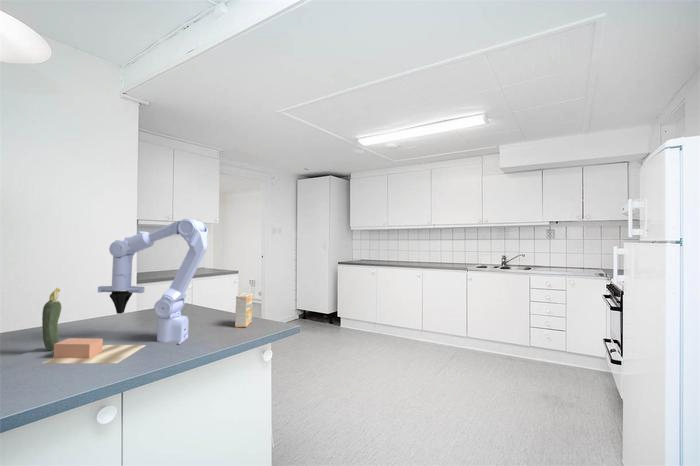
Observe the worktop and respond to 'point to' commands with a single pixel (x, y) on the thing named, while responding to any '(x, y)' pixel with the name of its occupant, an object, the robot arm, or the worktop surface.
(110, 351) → the board
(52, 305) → the vegetable
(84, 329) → the worktop surface
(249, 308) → the supplement box
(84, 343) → the pink channel block
